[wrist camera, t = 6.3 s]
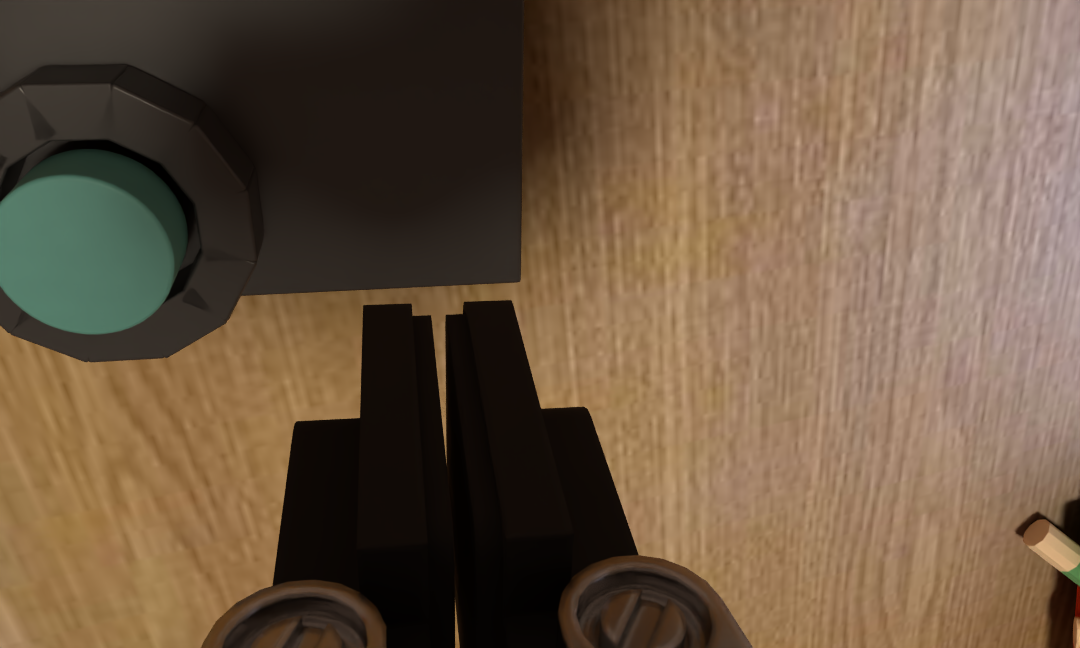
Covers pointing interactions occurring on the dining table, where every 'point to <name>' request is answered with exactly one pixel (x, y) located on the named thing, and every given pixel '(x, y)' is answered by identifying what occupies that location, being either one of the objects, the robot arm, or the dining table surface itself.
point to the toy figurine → (1057, 558)
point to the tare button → (90, 242)
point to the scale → (280, 142)
